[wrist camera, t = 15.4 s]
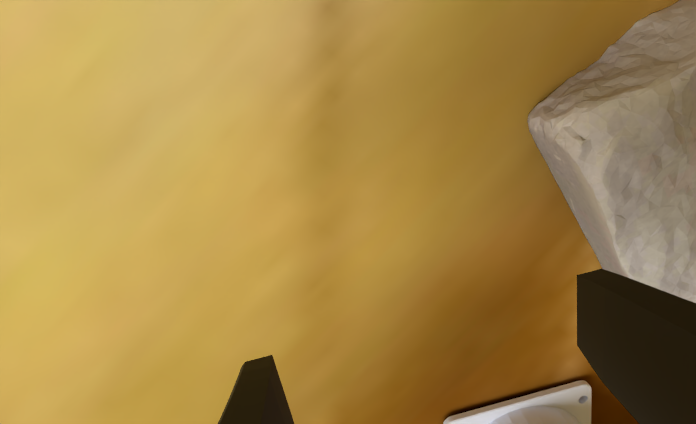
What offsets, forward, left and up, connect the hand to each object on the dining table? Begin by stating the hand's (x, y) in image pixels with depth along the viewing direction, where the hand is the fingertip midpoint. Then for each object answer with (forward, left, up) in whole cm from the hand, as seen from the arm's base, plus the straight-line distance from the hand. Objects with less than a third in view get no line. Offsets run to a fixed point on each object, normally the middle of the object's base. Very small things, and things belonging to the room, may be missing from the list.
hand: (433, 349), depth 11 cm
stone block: (-1, -14, -10) cm, 17 cm away
